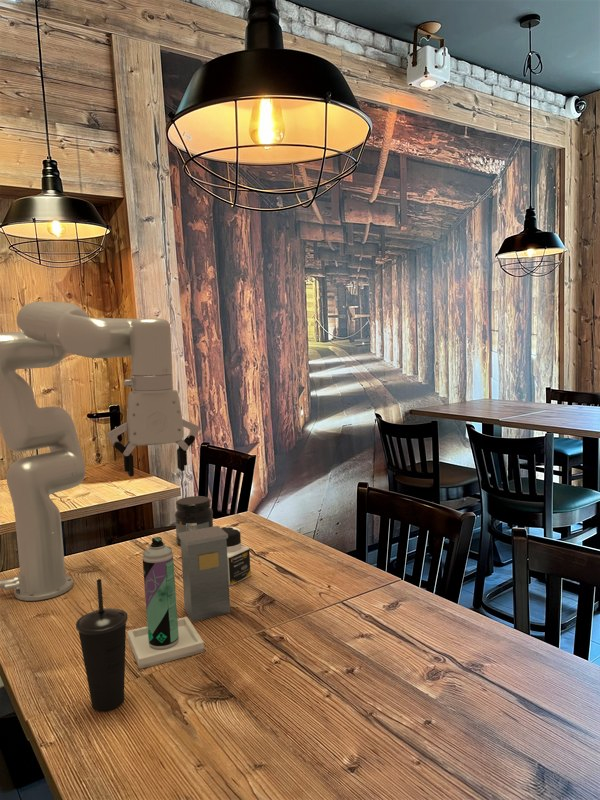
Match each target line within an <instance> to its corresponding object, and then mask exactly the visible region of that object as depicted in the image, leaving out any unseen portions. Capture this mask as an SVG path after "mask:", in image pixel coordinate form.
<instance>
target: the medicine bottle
mask: <svg viewBox="0 0 600 800" xmlns="http://www.w3.org/2000/svg"><path fill="white" fill-rule="evenodd" d="M220 528H221V529H222V530H224V531H225V532H226V533H227V534H228V538H226V541H227V559H228V578H229V587H232V586H233V585H235V584H237V582H238V583H239V582H241V581H243V580H245V579H247V578H250V577H251V575H252V572H251V555H250V553H251V551H250V547H248V546H244V545H242V533H241V529H240V528H238V527H234V526H223V527H220Z"/></svg>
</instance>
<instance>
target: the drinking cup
mask: <svg viewBox="0 0 600 800" xmlns="http://www.w3.org/2000/svg"><path fill="white" fill-rule="evenodd" d="M102 585H103V583H102V579H101V578H98V579H97V580H96V589H97V602H98V603H97V604H98V609H95V610H93V611H90V612H88V613H86V614H84V615H82V616H81V617H79V618H78V620H77V621H76V623H75V629H76V630H77V632H78V634H79V635H78V636H79V641H80V642H79V643H80V647H81V652H82V657H83V662H84V668H85V673H86V681H87V685H88V690H89V695H90V702H91V706H92V709H93V710H94V711H97V712H110V711H112V710H115V709H117V708H119V707H120V706H121V705H122V704H124V701H125V684H126V682H125V680H126V676H125V675H126V673H125V672H126V635H127V634H126V633H127V629H126V628H127V621H128V618H129V617H128V613H127V612H126V611H125V610H123V609H119V608H112V607H111V608H109V607H105V608H104V598H103V588H102V587H103V586H102Z"/></svg>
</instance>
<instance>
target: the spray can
mask: <svg viewBox="0 0 600 800" xmlns="http://www.w3.org/2000/svg"><path fill="white" fill-rule="evenodd" d="M174 561H175V559H174V552H173V548H172V547H171V546H168V545H166V543H164V541H163V540H162V537H161V536H154V537H152V538H151V543H150V545H148V547H147V548H146V549H144V550H143V552H142V570H143V581H144V594H145V595H144V597H145V610H146V613H145V614H146V622H147V625H146V626H147V627H148V641H149V646H150V648H152V649H155V650H164V649H169V648H171V647H173V646H175V645H176V644H177V643H178V641H179V635H178V620H177V619H178V609H177V594H176V578H175V577H176V575H175V563H174Z"/></svg>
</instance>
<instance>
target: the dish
mask: <svg viewBox="0 0 600 800" xmlns="http://www.w3.org/2000/svg"><path fill="white" fill-rule="evenodd" d="M177 620H178V635H179V641H178V643H177V644H176V645H175V646H173V647H171V648H169V649H164V650H155V649H152V648H150V646H149V641H148V627H147V625H146V626H142V627H137V628H135V629H129V630H126V633H127V634H126V635H127V641H128V643H129V646H130V649H131V651H132V654H133V656H134V659H135V661H136V664H137V667H138V669H139V670H141V669H145V668H149V667H154V666H156V665H160V664H164V663H168V662H172V661H174V660H175V661H176V660H179V659H183V658H186V657H189V656H194V655H197V654H202V653H205V642H204V640H203V639H202V637H201V636H200V634H199V632H198V631H197V629H196V628H195V627H194V625H193V622H192V621H191V619H190V618H189V616H183V617H180V618H177Z"/></svg>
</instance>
